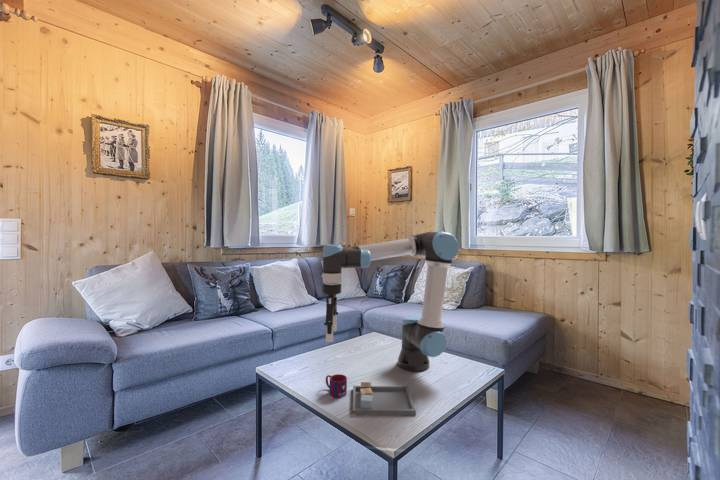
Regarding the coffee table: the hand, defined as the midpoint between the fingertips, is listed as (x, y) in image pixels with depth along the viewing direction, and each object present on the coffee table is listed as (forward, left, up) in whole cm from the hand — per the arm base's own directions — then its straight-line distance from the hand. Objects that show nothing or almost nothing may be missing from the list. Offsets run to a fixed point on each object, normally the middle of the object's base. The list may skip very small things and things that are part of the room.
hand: (331, 336), depth 131 cm
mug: (-2, +2, -22) cm, 23 cm away
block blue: (-14, +14, -22) cm, 29 cm away
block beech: (-14, +9, -22) cm, 27 cm away
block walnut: (-14, +4, -22) cm, 26 cm away
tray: (-20, +9, -22) cm, 31 cm away
